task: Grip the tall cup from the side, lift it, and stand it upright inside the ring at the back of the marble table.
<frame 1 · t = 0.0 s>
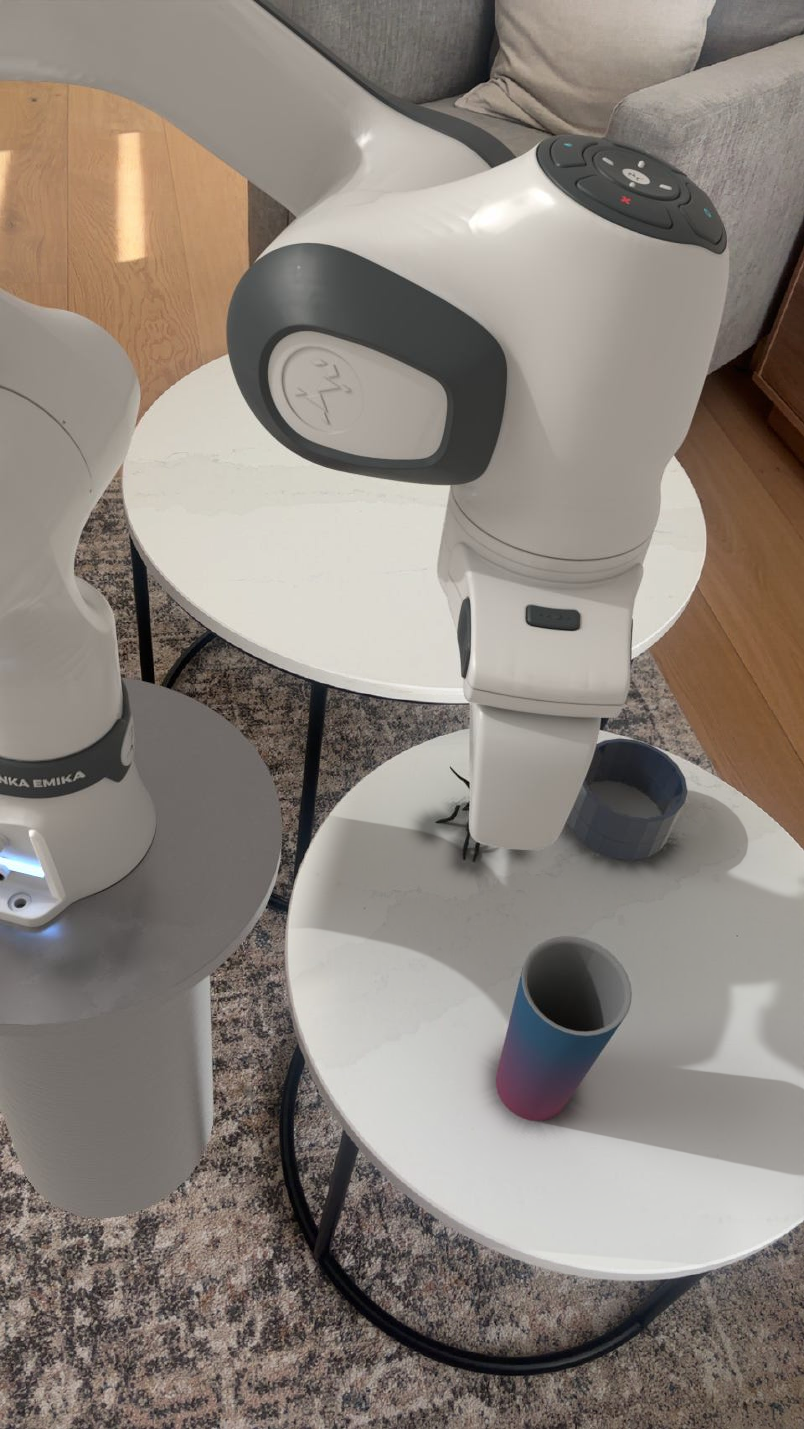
hand: (487, 758, 58), 30 cm above the table, tool pointing down, fingers open, 8 cm apart
cup: (528, 1094, 77), on the table
creature: (471, 841, 92), on the table
ring: (613, 826, 95), on the table
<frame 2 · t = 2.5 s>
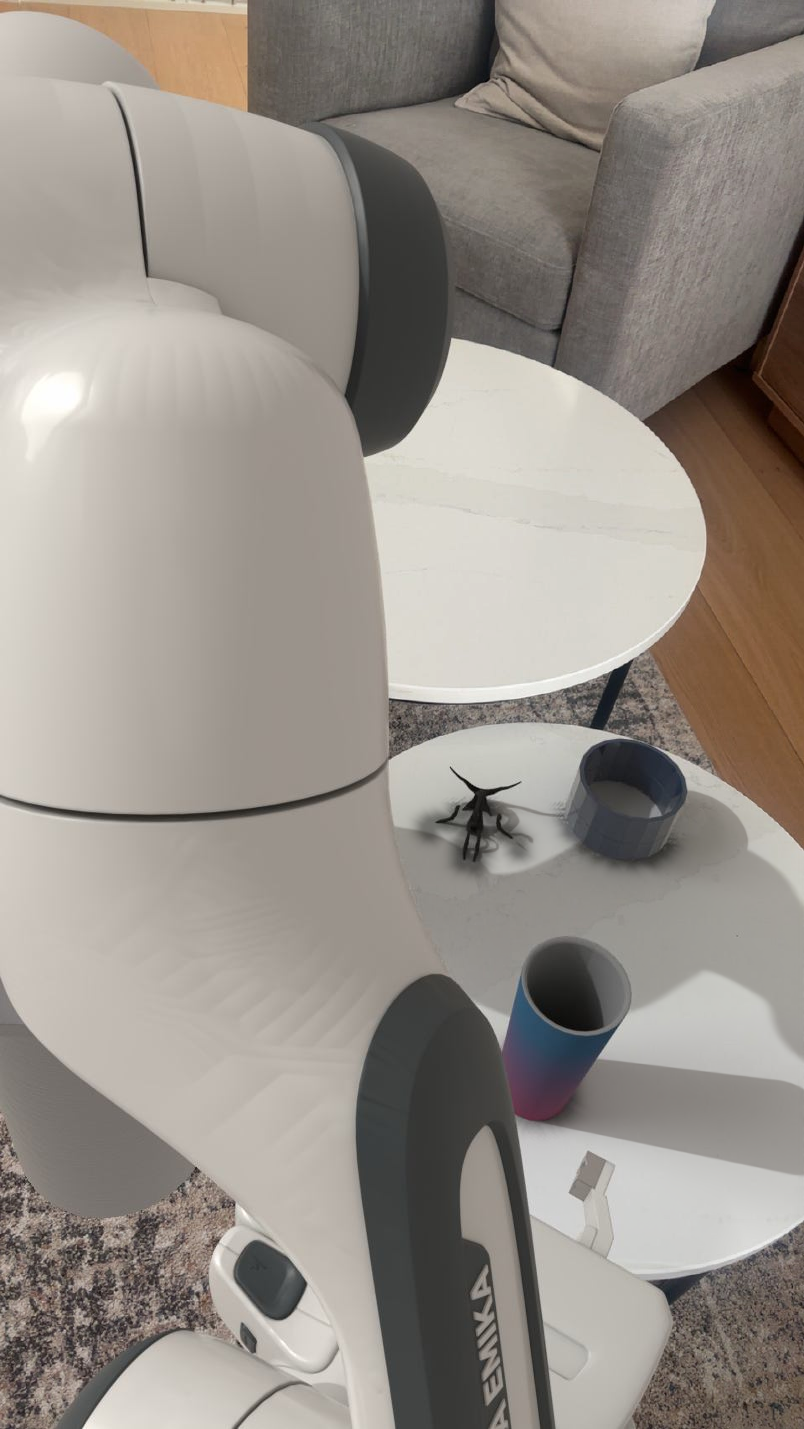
hand: (512, 1113, 55), 20 cm above the table, tool horizontal, fingers open, 8 cm apart
nothing on the table moved.
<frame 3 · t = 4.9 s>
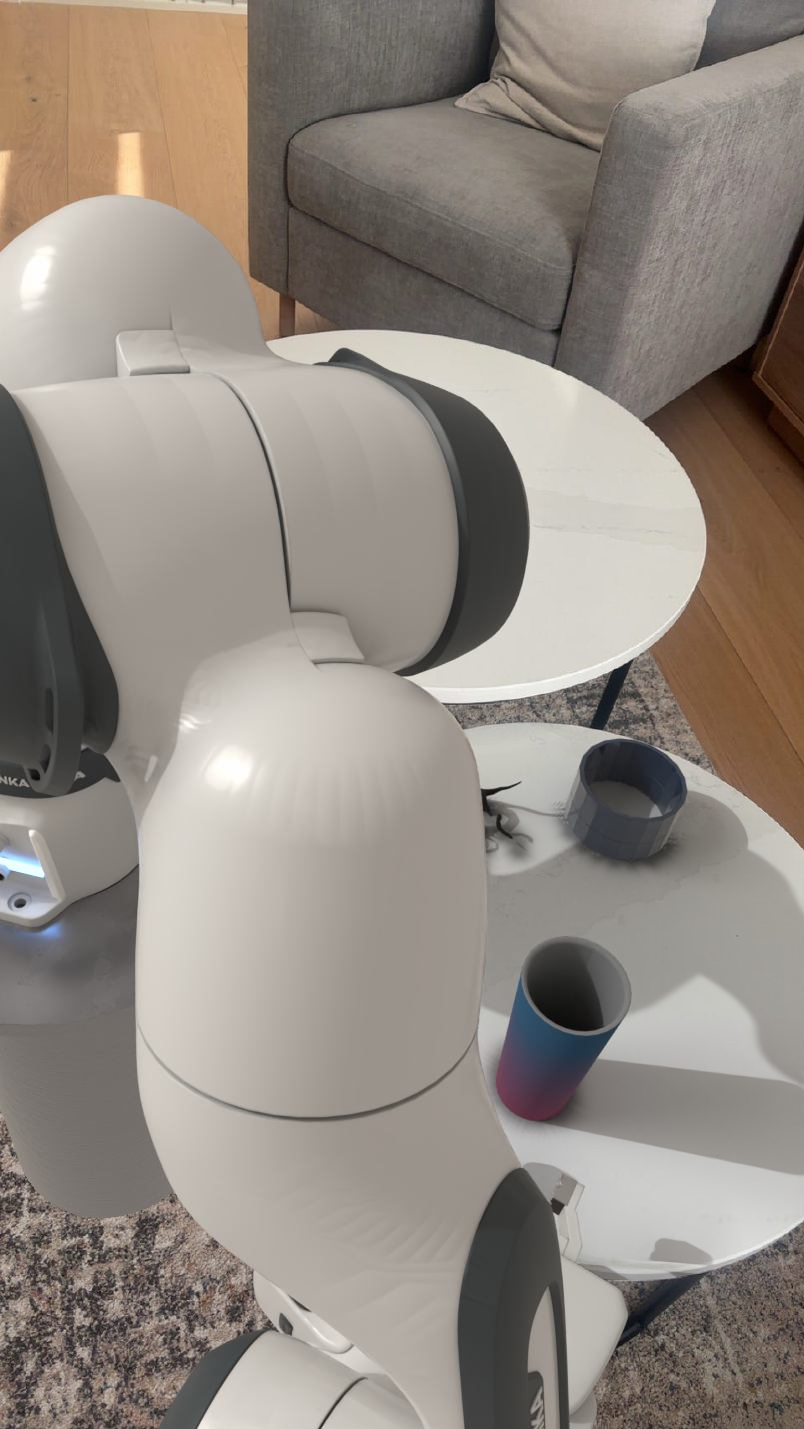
hand: (500, 1141, 66), 8 cm above the table, tool horizontal, fingers open, 8 cm apart
nothing on the table moved.
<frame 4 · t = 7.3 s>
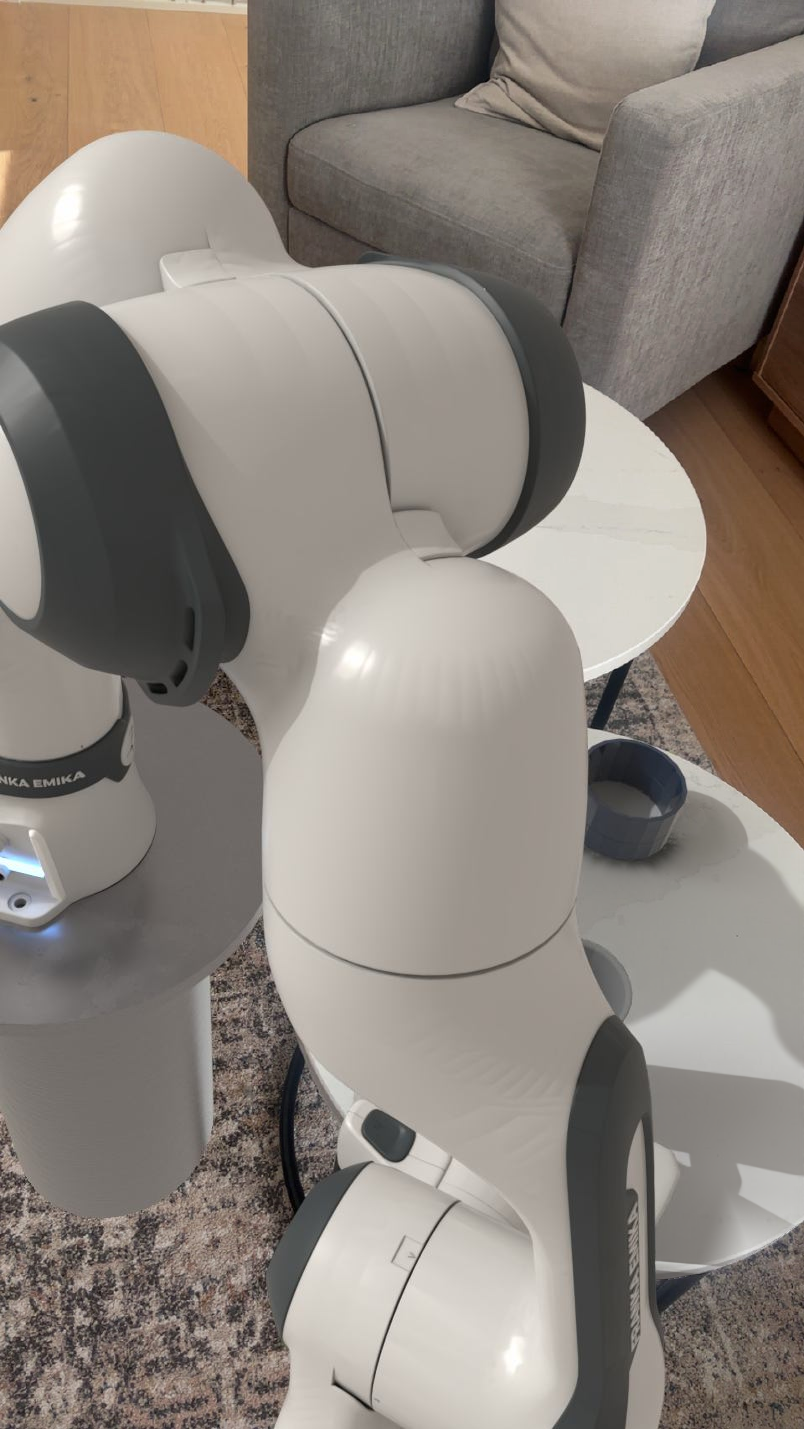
hand: (557, 1028, 72), 8 cm above the table, tool horizontal, fingers closed on cup, 6 cm apart
cup: (528, 1094, 77), on the table, touching gripper
everything else where it was.
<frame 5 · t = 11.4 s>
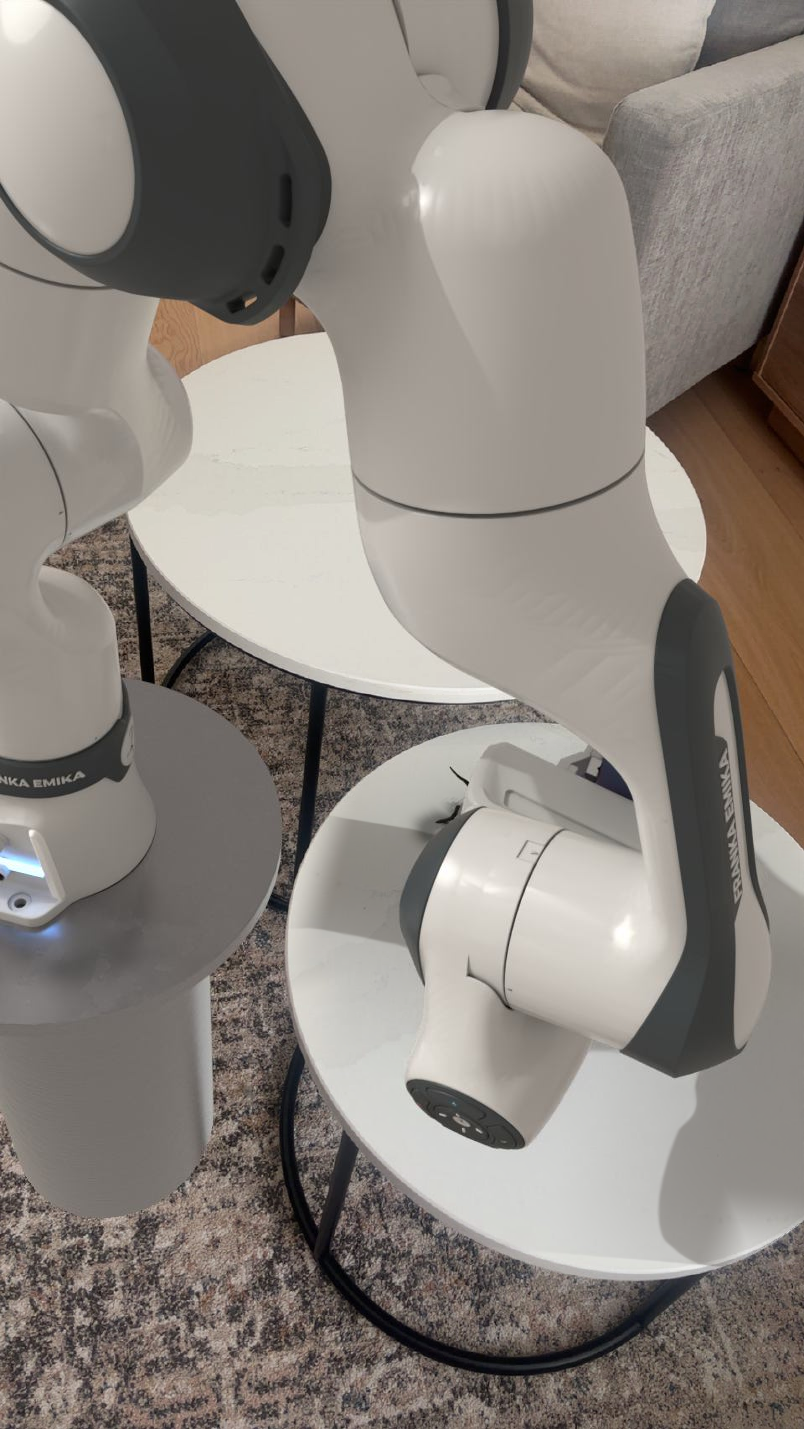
hand: (645, 770, 77), 17 cm above the table, tool horizontal, fingers closed on cup, 6 cm apart
cup: (612, 849, 82), point 9 cm above the table, touching gripper
everything else where it was.
when the fingers open (9 cm above the table, at t = 15.6 s): cup stays where it is, resting on ring.
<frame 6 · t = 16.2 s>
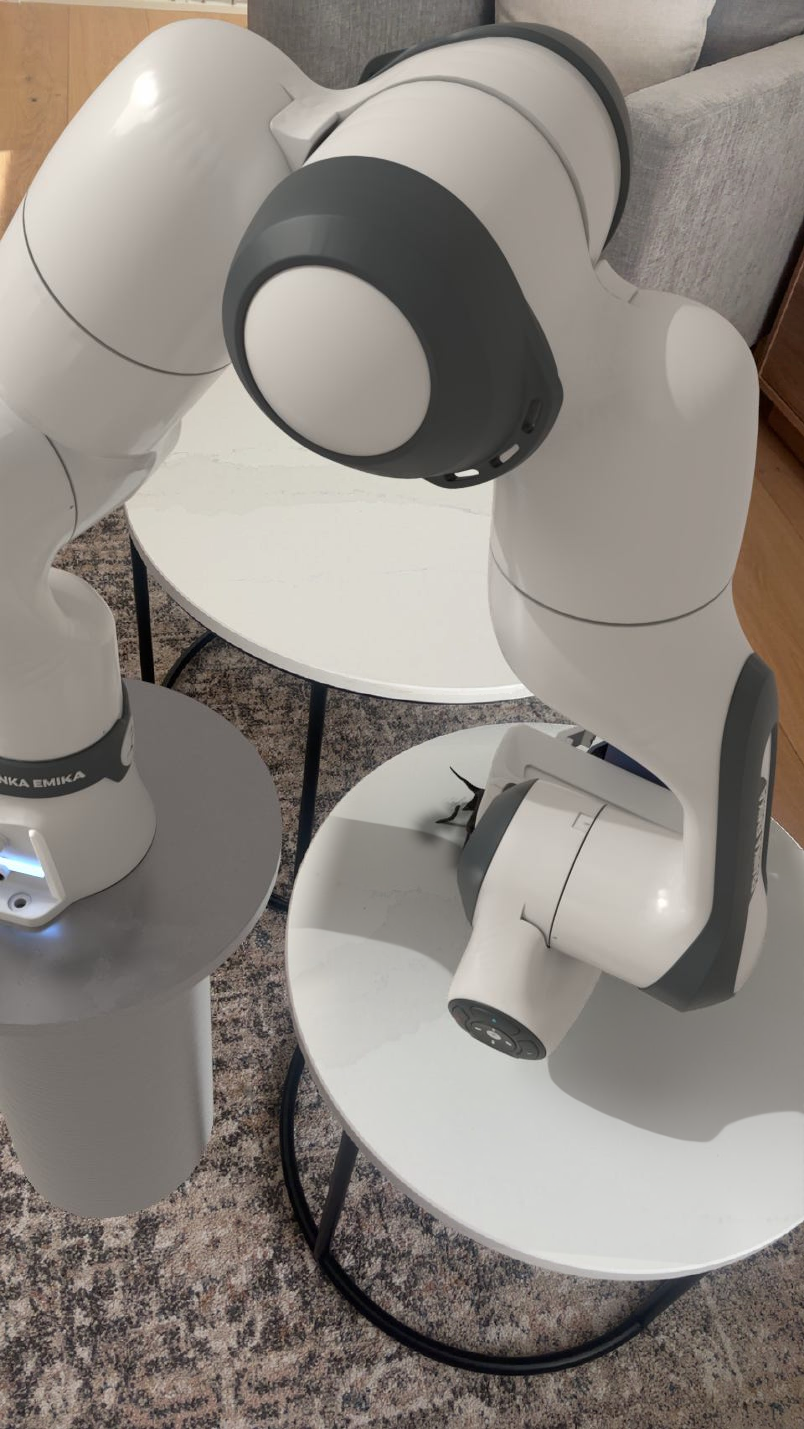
hand: (644, 748, 89), 9 cm above the table, tool horizontal, fingers open, 8 cm apart
cup: (616, 825, 95), resting on ring
everything else where it was.
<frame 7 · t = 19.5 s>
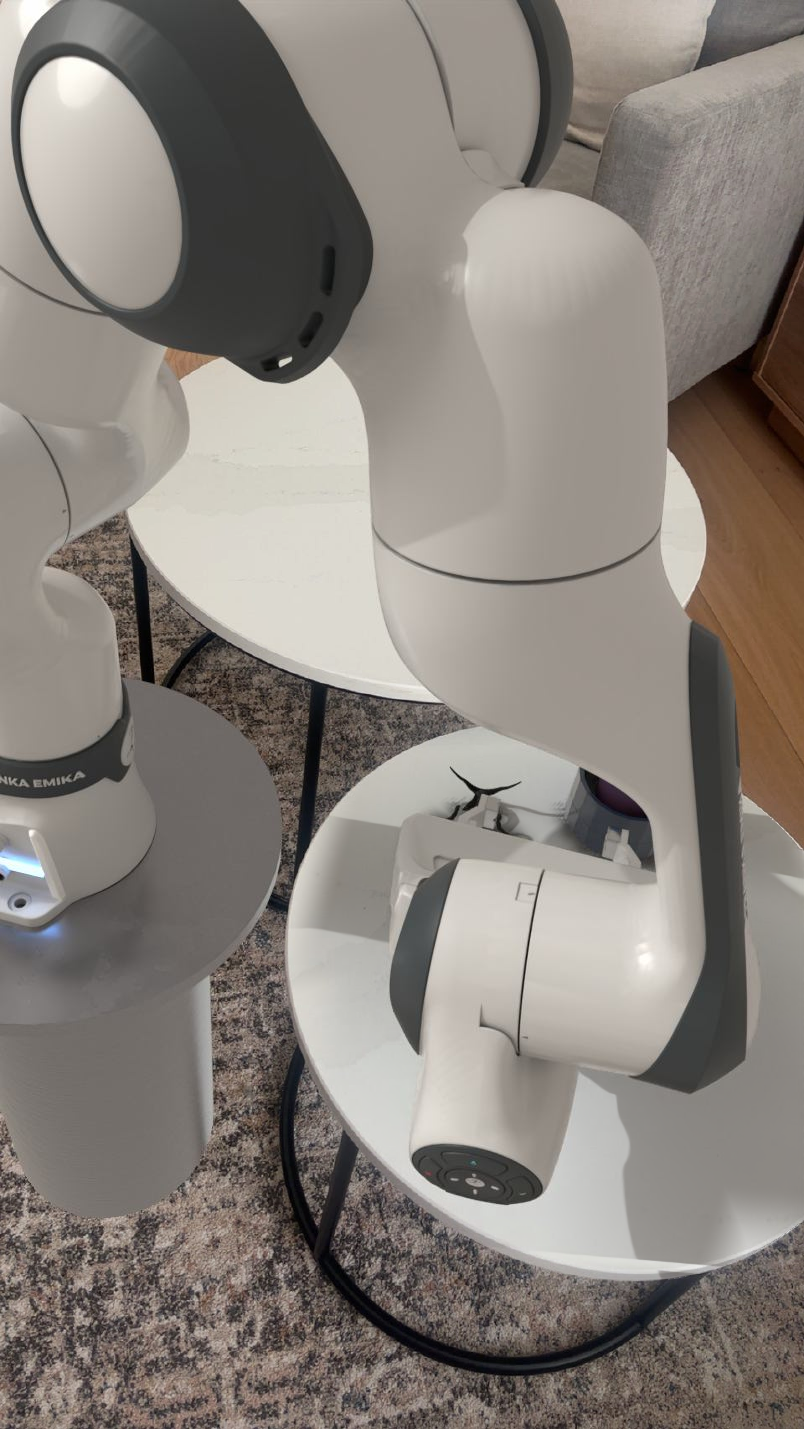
hand: (552, 818, 80), 11 cm above the table, tool horizontal, fingers open, 8 cm apart
nothing on the table moved.
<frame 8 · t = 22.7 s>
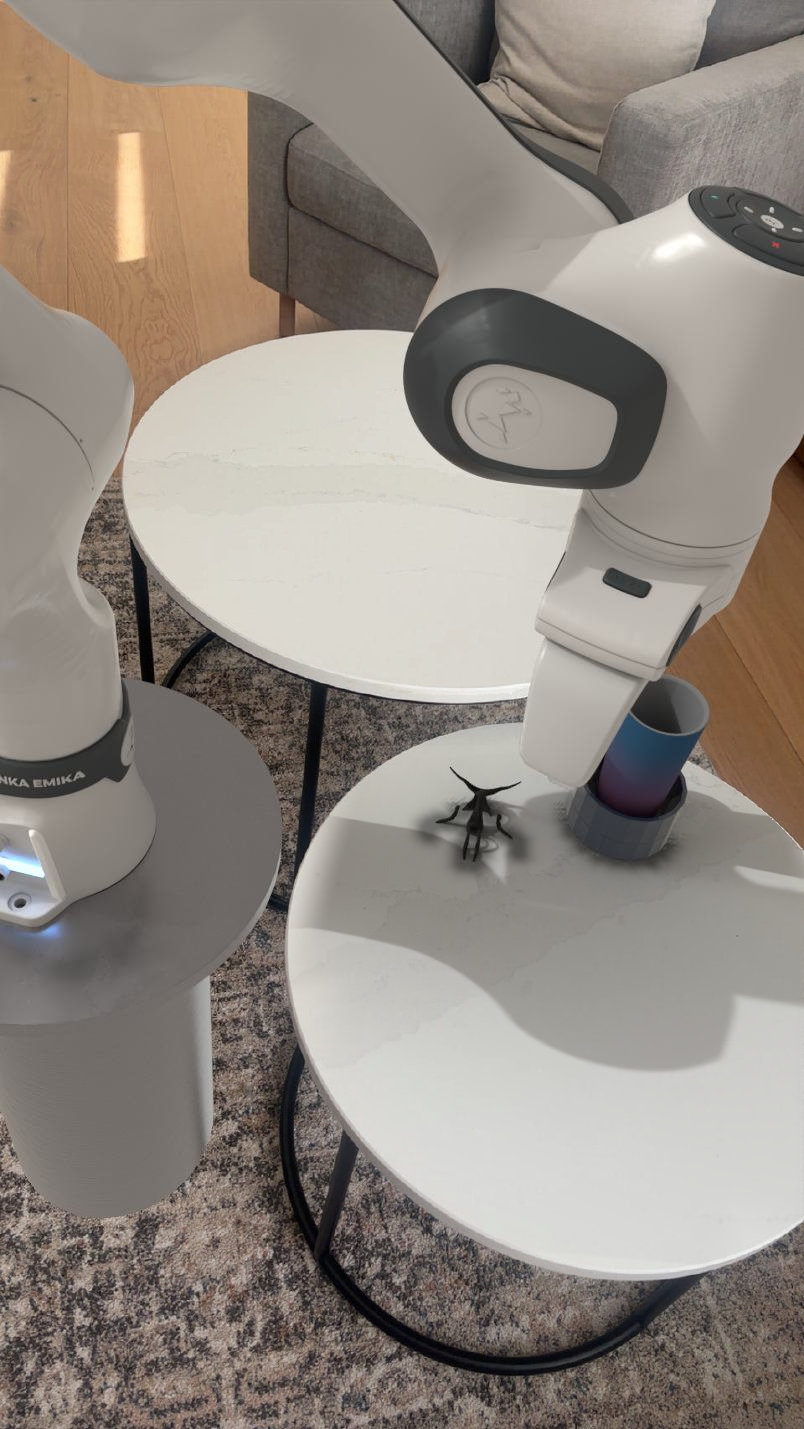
hand: (594, 727, 65), 27 cm above the table, tool pointing down, fingers open, 8 cm apart
nothing on the table moved.
at the end: cup 0.1 cm off-centre in the ring, point 0.4 cm above the ring's base; cup tilted 0°; the gripper is holding nothing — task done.
